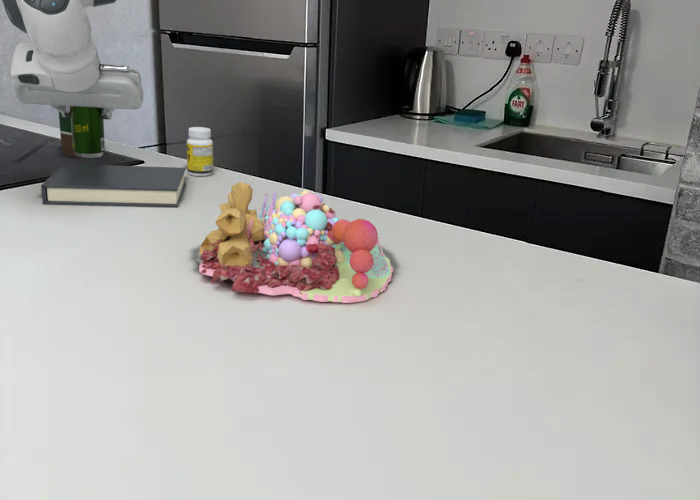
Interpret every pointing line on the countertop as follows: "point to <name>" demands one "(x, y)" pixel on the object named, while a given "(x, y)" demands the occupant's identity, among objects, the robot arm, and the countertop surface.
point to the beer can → (87, 131)
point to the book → (114, 186)
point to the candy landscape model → (294, 250)
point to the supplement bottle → (199, 152)
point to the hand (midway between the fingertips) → (87, 115)
